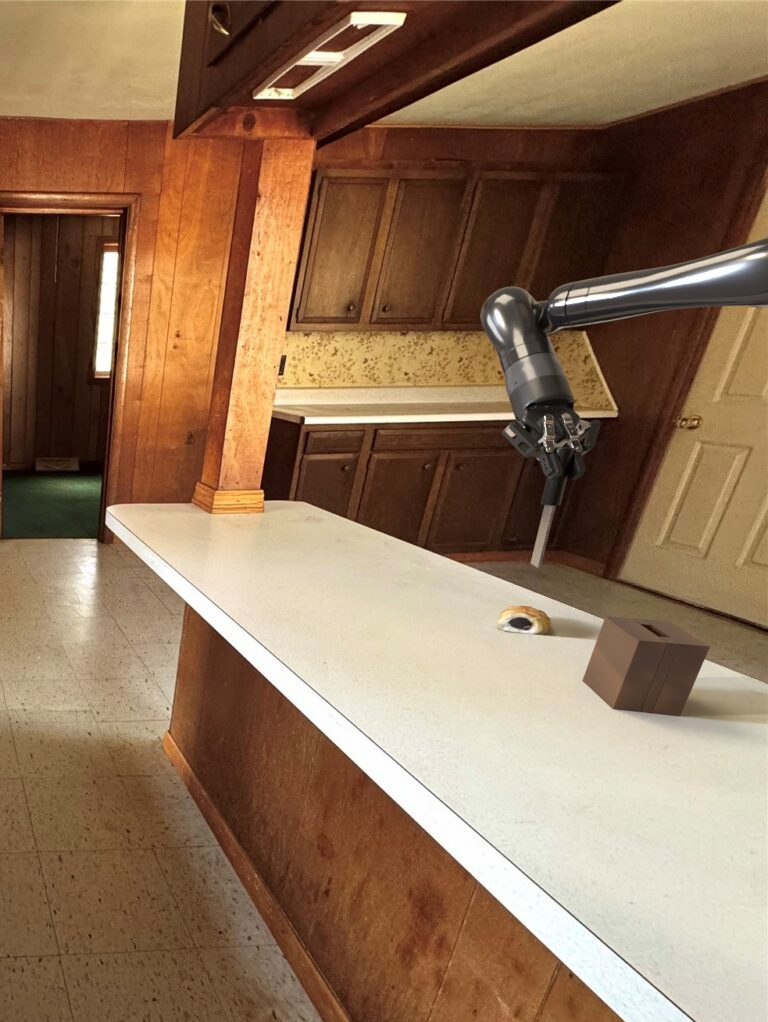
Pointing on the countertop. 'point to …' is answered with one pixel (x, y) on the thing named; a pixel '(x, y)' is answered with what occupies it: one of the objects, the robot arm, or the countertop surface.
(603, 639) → the knife block
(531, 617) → the pastry
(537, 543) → the knife
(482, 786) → the countertop surface
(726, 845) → the countertop surface
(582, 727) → the countertop surface
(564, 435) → the robot arm
